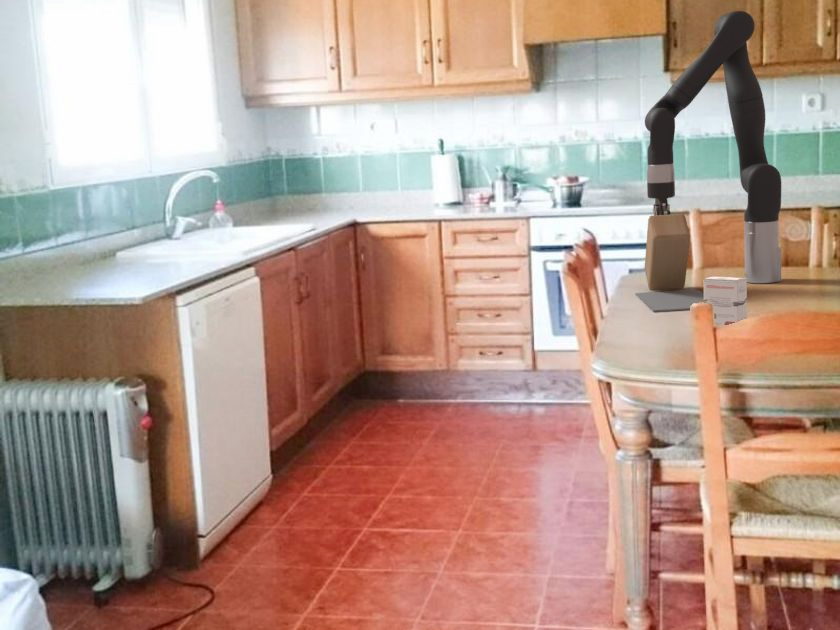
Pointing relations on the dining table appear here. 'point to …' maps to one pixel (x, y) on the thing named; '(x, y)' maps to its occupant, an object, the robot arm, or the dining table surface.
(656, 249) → the wooden block
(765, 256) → the robot arm
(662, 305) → the rubber mat
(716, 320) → the ink box
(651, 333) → the dining table surface
